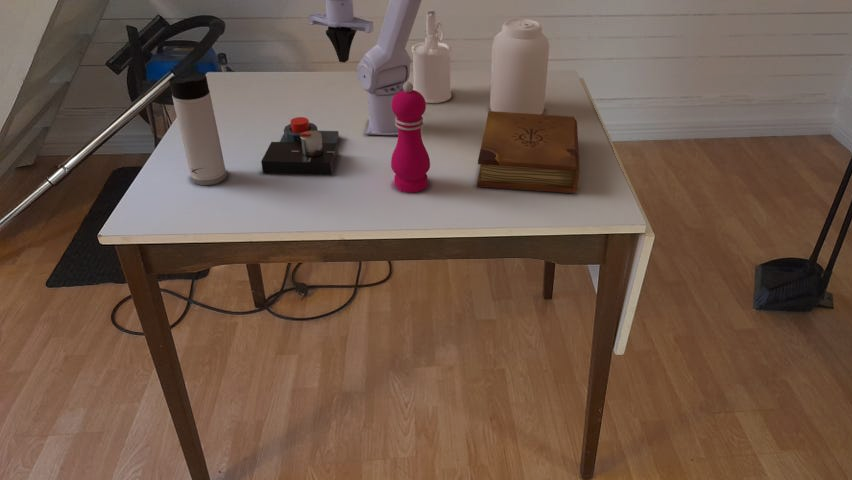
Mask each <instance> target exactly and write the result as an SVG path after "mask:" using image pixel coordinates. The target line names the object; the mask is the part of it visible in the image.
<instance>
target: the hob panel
mask: <svg viewBox="0 0 852 480" xmlns="http://www.w3.org/2000/svg"><path fill="white" fill-rule="evenodd" d="M338 156H339V151H338V142H337V143H323V153H322V154H321V155H318V156H313V157H311V156H305V155H304V154H303V153H302V146H301V142H280V141H271V142H270V144H269V145H268V147H267V149H266V151H265V153H264V155H263V157H262V159H261V161H260V163H261V168H262V169H261V170H262V173H263V174H267V175H271V174H273V175H275V174H276V175H318V176H319V175H320V176H321V175H323V176H326V175H327V176H331V175H333V171H334V168H335V165H336V162H337V159H338Z"/></svg>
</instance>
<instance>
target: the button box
mask: <svg viewBox="0 0 852 480" xmlns="http://www.w3.org/2000/svg"><path fill="white" fill-rule="evenodd" d="M309 128H310V130H309V131H318V132H320V133H321V134H322V143H337V144H338V142H339V140H340V139H339V138H340V133H339V132H340V131H338V130H319V129H318V126H317V125H316V124H315V123H313V122H309ZM279 142H301V138H300V133H295V132H292V130H291V123H289V124H287V125H285V127H284V128H283V134H282V136H281V139H280V141H279Z"/></svg>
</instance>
